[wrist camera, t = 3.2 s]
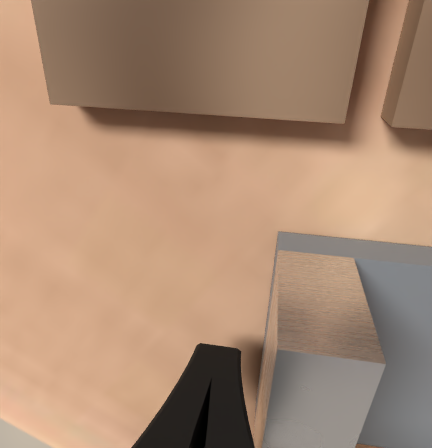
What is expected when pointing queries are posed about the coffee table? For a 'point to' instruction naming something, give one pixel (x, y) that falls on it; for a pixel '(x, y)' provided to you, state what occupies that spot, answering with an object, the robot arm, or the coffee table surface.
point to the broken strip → (228, 57)
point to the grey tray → (346, 346)
